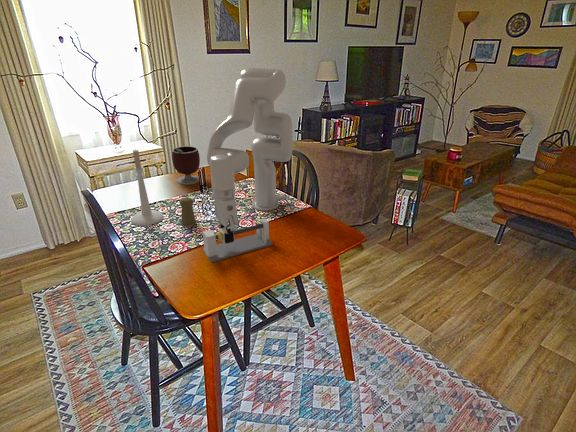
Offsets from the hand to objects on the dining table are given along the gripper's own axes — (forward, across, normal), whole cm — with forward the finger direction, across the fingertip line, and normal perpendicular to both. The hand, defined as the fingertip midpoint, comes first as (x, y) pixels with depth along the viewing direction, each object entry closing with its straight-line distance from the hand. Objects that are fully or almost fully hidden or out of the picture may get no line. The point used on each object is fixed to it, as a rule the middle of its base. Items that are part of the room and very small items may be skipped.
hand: (226, 238), depth 126 cm
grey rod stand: (+5, 0, -4) cm, 6 cm away
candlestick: (+5, +40, +20) cm, 45 cm away
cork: (+5, +28, +6) cm, 29 cm away
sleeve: (0, 0, 0) cm, 0 cm away
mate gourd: (+5, +76, -8) cm, 77 cm away
